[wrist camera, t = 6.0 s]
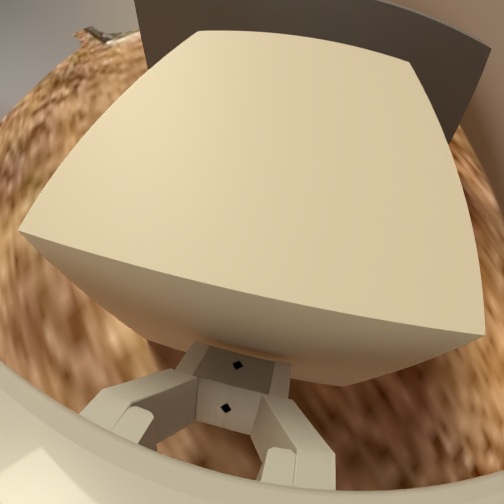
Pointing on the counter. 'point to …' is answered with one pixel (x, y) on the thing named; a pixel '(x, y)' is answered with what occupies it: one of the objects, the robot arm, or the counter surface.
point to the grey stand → (336, 38)
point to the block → (271, 209)
